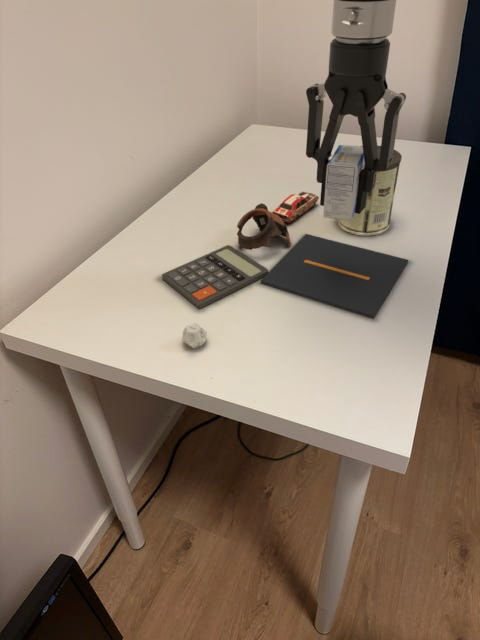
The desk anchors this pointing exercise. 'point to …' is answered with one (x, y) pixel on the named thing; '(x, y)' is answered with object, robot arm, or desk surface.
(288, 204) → the race car
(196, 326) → the game die
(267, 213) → the brown looped frame
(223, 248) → the calculator
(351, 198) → the medicine box
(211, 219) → the desk surface
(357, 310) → the mat
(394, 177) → the coffee can
